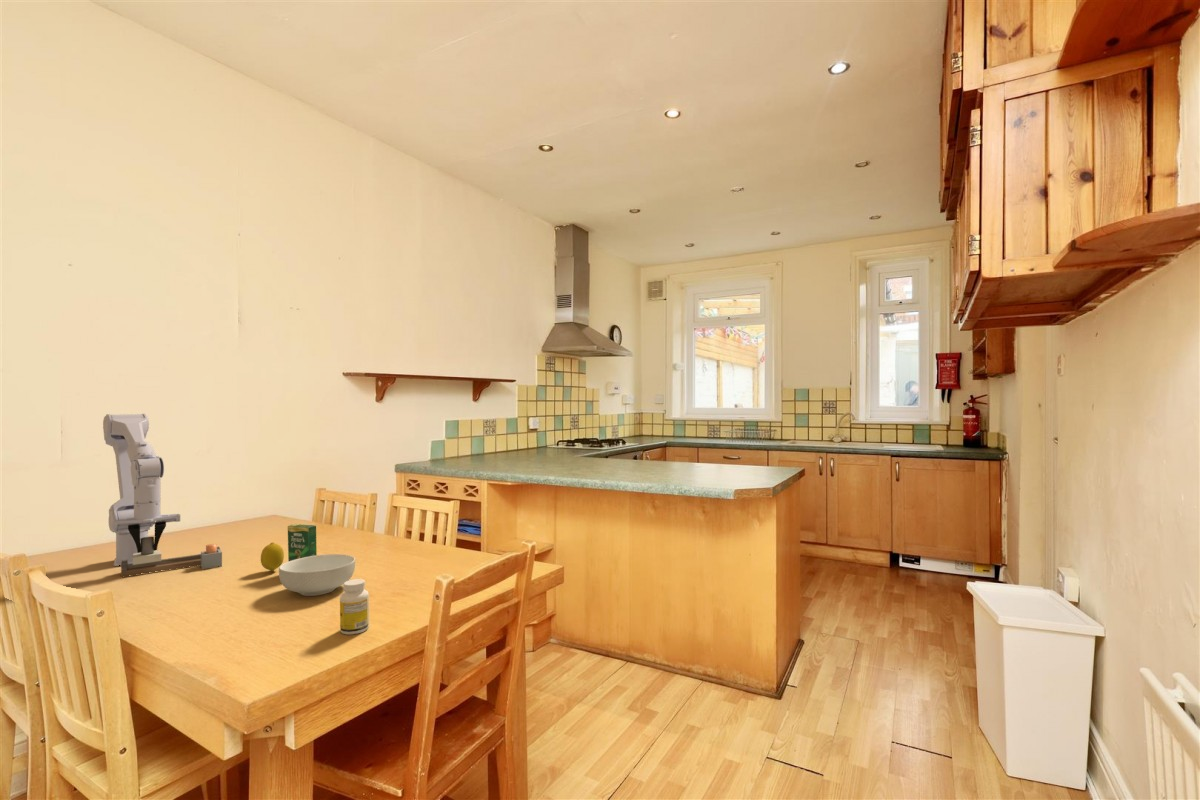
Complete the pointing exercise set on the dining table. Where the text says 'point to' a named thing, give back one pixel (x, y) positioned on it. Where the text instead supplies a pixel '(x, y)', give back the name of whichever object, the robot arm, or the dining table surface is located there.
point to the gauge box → (211, 559)
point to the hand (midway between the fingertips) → (147, 550)
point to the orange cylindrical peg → (211, 548)
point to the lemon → (272, 556)
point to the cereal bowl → (317, 573)
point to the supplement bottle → (354, 607)
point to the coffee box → (301, 541)
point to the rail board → (160, 565)
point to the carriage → (147, 552)
